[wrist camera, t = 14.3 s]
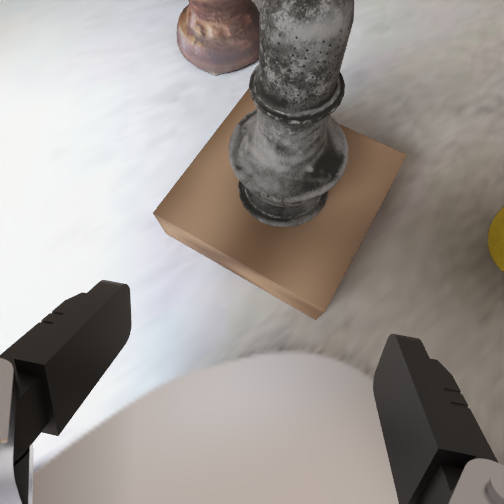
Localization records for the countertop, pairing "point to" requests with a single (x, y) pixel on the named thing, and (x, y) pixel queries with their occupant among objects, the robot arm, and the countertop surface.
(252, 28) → the mortar and pestle
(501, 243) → the lemon
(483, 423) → the countertop surface
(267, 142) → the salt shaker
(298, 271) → the walnut plinth
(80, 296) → the robot arm
